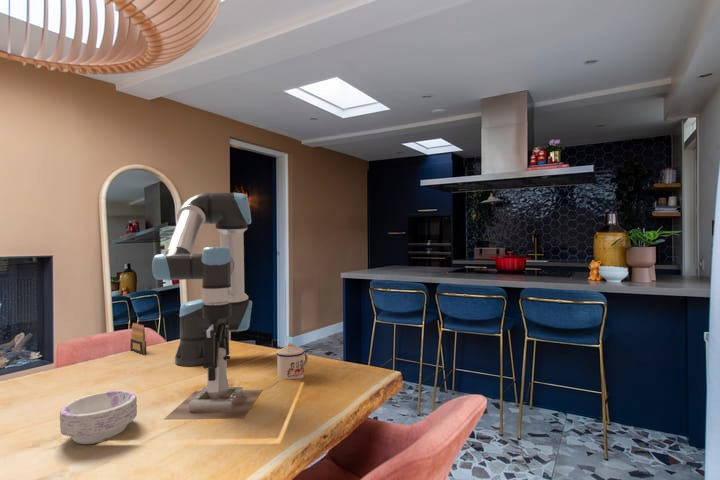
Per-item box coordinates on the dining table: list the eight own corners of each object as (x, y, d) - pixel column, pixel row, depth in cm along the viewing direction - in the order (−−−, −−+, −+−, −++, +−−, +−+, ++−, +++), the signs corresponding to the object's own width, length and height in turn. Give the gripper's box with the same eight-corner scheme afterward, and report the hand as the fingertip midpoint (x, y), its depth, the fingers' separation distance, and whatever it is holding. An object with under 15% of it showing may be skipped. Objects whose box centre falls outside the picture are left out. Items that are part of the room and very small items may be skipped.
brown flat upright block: (130, 350, 174) (130, 322, 174) (134, 349, 176) (134, 321, 176) (141, 354, 168) (141, 325, 168) (146, 353, 169) (146, 324, 169)
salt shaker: (224, 400, 109) (224, 351, 109) (202, 400, 109) (202, 351, 109) (231, 392, 115) (231, 345, 115) (211, 392, 115) (211, 345, 115)
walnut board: (195, 394, 122) (195, 390, 122) (262, 393, 122) (262, 389, 122) (163, 423, 102) (163, 419, 102) (243, 422, 102) (243, 418, 102)
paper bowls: (42, 446, 90) (42, 410, 91) (102, 418, 105) (102, 387, 105) (97, 455, 86) (96, 417, 87) (151, 424, 101) (151, 392, 101)
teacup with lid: (289, 384, 129) (288, 347, 130) (271, 378, 135) (270, 343, 135) (316, 375, 139) (316, 340, 139) (298, 370, 144) (298, 337, 145)
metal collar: (204, 396, 117) (204, 387, 117) (243, 395, 117) (243, 386, 117) (189, 411, 106) (189, 402, 106) (231, 411, 106) (231, 401, 106)
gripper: (218, 308, 103) (219, 400, 103) (240, 298, 122) (241, 376, 121) (189, 308, 103) (189, 400, 103) (215, 298, 122) (215, 376, 121)
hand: (217, 387), depth 112 cm, fingers closed on salt shaker, 6 cm apart
